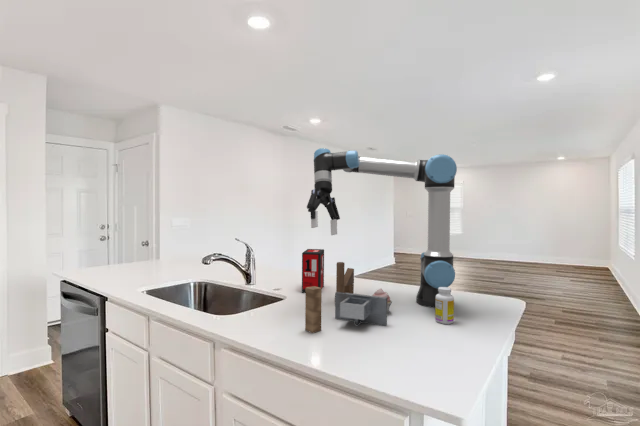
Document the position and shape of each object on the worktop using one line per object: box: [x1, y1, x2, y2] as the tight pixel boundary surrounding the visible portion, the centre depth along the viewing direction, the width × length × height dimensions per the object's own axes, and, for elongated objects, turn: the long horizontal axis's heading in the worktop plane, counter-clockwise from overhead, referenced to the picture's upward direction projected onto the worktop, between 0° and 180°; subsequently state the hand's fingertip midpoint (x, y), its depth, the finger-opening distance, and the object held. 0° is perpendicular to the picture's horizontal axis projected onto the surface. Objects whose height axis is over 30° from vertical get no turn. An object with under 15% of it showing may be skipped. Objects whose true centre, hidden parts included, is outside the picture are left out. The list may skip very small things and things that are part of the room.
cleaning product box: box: [301, 248, 325, 294], centre depth 188 cm, size 16×9×20 cm, turn 172°
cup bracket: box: [334, 291, 388, 327], centre depth 134 cm, size 20×11×10 cm, turn 66°
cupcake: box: [371, 287, 393, 315], centre depth 149 cm, size 9×9×10 cm
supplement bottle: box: [434, 287, 455, 325], centre depth 138 cm, size 7×7×13 cm
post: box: [304, 286, 323, 334], centre depth 128 cm, size 4×4×15 cm
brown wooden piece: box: [335, 261, 355, 294], centre depth 168 cm, size 4×11×18 cm, turn 143°
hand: (324, 231), depth 148 cm, fingers open, 13 cm apart
